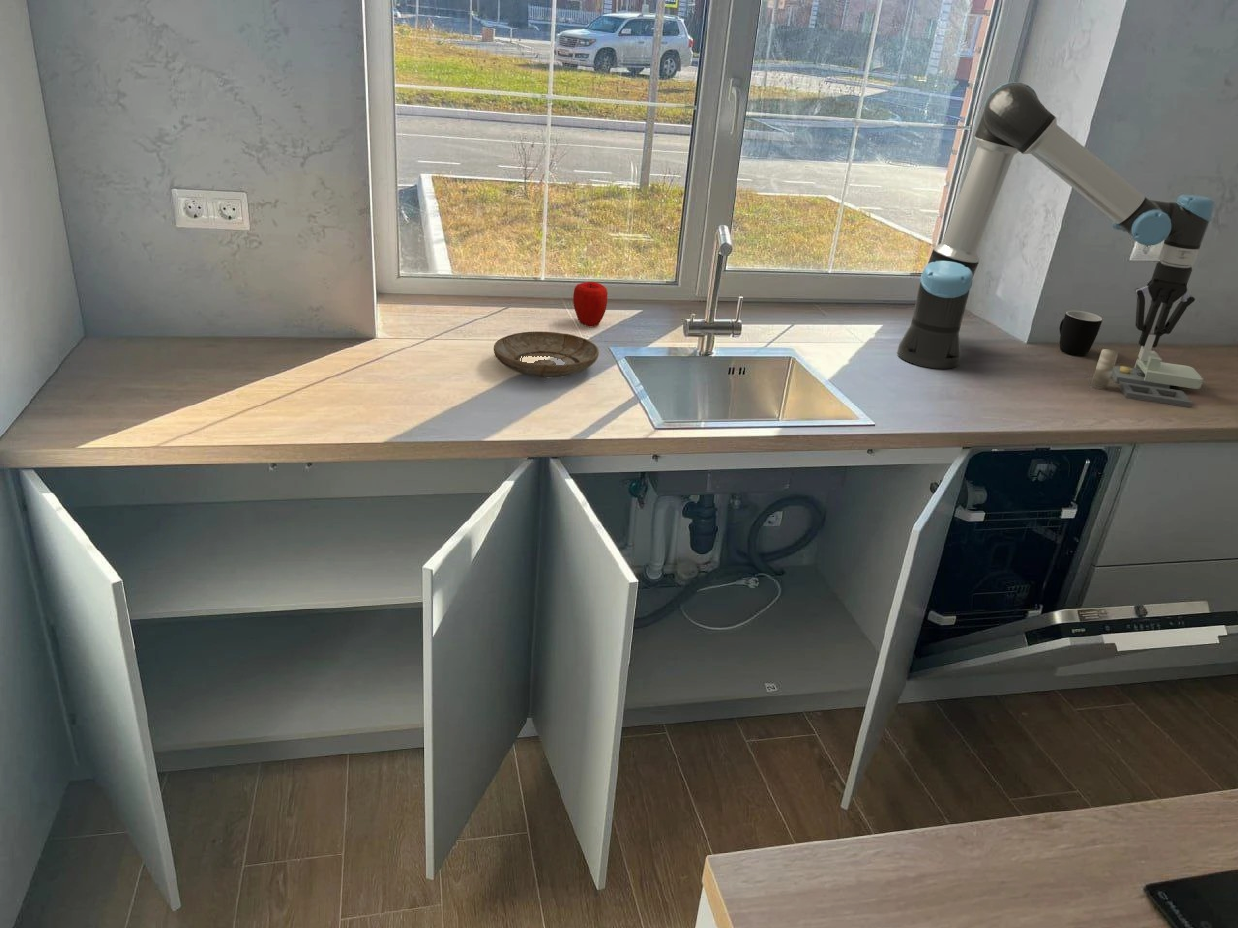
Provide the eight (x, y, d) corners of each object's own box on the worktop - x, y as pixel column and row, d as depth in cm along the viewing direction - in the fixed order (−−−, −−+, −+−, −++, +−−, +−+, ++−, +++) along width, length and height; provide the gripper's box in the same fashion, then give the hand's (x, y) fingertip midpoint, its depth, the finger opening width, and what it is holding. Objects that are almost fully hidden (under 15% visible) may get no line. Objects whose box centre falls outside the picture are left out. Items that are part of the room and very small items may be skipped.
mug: (1098, 358, 241) (1110, 321, 237) (1068, 358, 240) (1079, 320, 235) (1070, 343, 252) (1081, 307, 247) (1041, 342, 250) (1051, 306, 246)
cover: (1144, 381, 222) (1151, 360, 220) (1134, 367, 231) (1141, 347, 229) (1200, 389, 220) (1208, 368, 218) (1188, 375, 229) (1195, 355, 226)
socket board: (1125, 397, 216) (1127, 392, 215) (1118, 386, 223) (1119, 381, 222) (1190, 407, 213) (1191, 402, 212) (1180, 395, 220) (1182, 390, 219)
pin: (1092, 388, 220) (1103, 352, 216) (1089, 383, 223) (1100, 348, 219) (1108, 390, 219) (1120, 355, 215) (1105, 385, 222) (1116, 350, 218)
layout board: (1115, 382, 225) (1119, 372, 224) (1107, 370, 233) (1111, 360, 231) (1168, 390, 222) (1172, 380, 221) (1158, 378, 230) (1162, 368, 229)
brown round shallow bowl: (619, 371, 206) (620, 350, 204) (542, 395, 191) (543, 373, 188) (548, 343, 220) (549, 323, 218) (471, 363, 204) (471, 342, 202)
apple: (575, 317, 239) (577, 276, 234) (608, 321, 238) (611, 280, 234) (568, 327, 231) (570, 285, 227) (602, 331, 231) (605, 289, 226)
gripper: (1149, 263, 213) (1117, 359, 223) (1210, 271, 210) (1175, 367, 221) (1141, 256, 219) (1110, 350, 230) (1200, 264, 217) (1167, 358, 227)
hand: (1142, 358), depth 225 cm, fingers closed
